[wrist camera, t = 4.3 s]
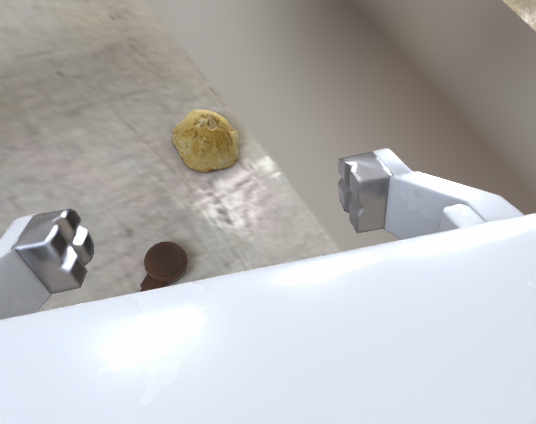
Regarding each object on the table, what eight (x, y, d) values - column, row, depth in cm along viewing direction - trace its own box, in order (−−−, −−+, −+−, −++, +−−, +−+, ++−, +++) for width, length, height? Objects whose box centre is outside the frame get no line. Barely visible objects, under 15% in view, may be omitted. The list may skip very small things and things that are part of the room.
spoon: (108, 409, 36) (105, 410, 34) (63, 388, 36) (58, 389, 34) (193, 255, 45) (194, 252, 44) (158, 238, 45) (158, 234, 43)
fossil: (165, 96, 47) (231, 88, 51) (162, 115, 52) (222, 107, 56) (188, 171, 46) (253, 157, 50) (182, 182, 52) (242, 169, 56)
